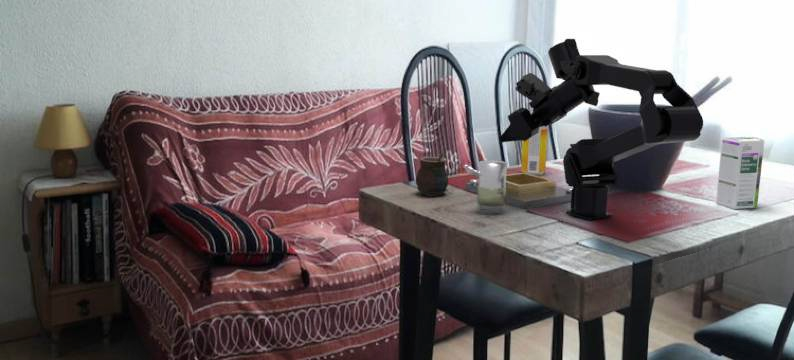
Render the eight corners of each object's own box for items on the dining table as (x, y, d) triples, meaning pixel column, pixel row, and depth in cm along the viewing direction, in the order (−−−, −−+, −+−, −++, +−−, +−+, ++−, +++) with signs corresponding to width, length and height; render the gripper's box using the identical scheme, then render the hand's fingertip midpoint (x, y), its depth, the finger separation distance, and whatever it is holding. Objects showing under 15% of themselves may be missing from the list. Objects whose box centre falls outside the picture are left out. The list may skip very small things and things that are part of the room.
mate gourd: (430, 188, 159) (432, 145, 156) (455, 194, 153) (457, 150, 151) (408, 193, 154) (409, 149, 151) (433, 200, 148) (435, 154, 146)
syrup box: (734, 210, 142) (742, 140, 139) (714, 203, 147) (721, 135, 144) (757, 208, 143) (766, 139, 140) (736, 201, 149) (744, 135, 146)
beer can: (543, 171, 179) (547, 113, 176) (546, 176, 173) (549, 116, 170) (520, 170, 179) (522, 113, 176) (521, 175, 173) (524, 116, 170)
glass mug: (504, 208, 142) (506, 160, 140) (505, 215, 136) (507, 165, 134) (462, 206, 143) (464, 159, 141) (461, 213, 137) (462, 164, 135)
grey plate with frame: (580, 199, 149) (581, 183, 149) (523, 208, 141) (524, 192, 140) (518, 182, 166) (519, 167, 165) (465, 189, 158) (465, 174, 157)
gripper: (561, 56, 148) (510, 94, 158) (522, 74, 134) (468, 114, 144) (590, 99, 147) (536, 134, 158) (554, 121, 133) (497, 158, 144)
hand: (510, 134), depth 151 cm, fingers open, 9 cm apart
